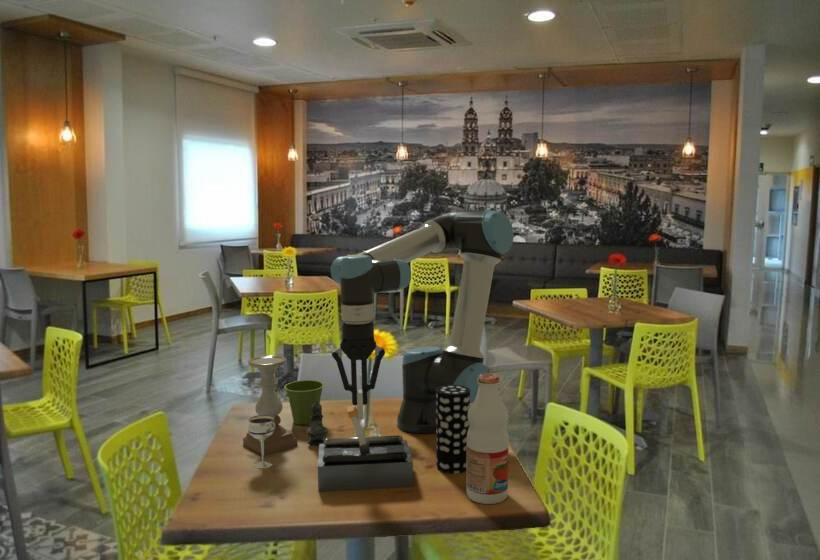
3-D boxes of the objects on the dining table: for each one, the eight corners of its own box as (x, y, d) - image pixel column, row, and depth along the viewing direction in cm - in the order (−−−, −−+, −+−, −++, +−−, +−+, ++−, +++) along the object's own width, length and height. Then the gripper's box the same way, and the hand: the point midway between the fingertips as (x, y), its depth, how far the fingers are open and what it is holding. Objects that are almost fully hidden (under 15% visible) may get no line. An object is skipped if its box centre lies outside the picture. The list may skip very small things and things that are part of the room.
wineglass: (281, 464, 169) (280, 419, 168) (258, 472, 165) (256, 425, 163) (267, 457, 174) (265, 412, 173) (244, 464, 169) (242, 419, 168)
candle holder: (276, 434, 190) (274, 352, 187) (298, 444, 182) (295, 359, 179) (242, 444, 183) (238, 359, 180) (263, 455, 175) (260, 367, 172)
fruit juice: (469, 484, 157) (470, 369, 153) (509, 488, 155) (511, 371, 151) (463, 503, 148) (464, 380, 144) (505, 507, 146) (507, 383, 142)
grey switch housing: (406, 462, 170) (406, 433, 169) (412, 486, 156) (412, 454, 155) (319, 466, 168) (319, 436, 167) (318, 491, 154) (317, 459, 153)
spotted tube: (465, 459, 172) (465, 384, 170) (473, 472, 164) (473, 393, 161) (433, 461, 171) (433, 385, 168) (439, 474, 163) (440, 395, 160)
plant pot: (300, 412, 209) (299, 377, 207) (332, 418, 204) (331, 382, 202) (277, 424, 198) (275, 387, 197) (309, 430, 193) (309, 393, 192)
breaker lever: (370, 446, 163) (355, 403, 162) (370, 452, 159) (356, 409, 158) (360, 449, 163) (346, 407, 161) (361, 455, 159) (346, 412, 158)
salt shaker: (302, 444, 183) (301, 401, 182) (314, 437, 188) (313, 395, 187) (319, 447, 180) (318, 404, 179) (332, 440, 186) (331, 398, 184)
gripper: (330, 325, 153) (333, 424, 156) (386, 323, 154) (388, 421, 157) (330, 319, 160) (333, 413, 163) (383, 317, 161) (385, 411, 164)
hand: (360, 417), depth 160 cm, fingers closed
